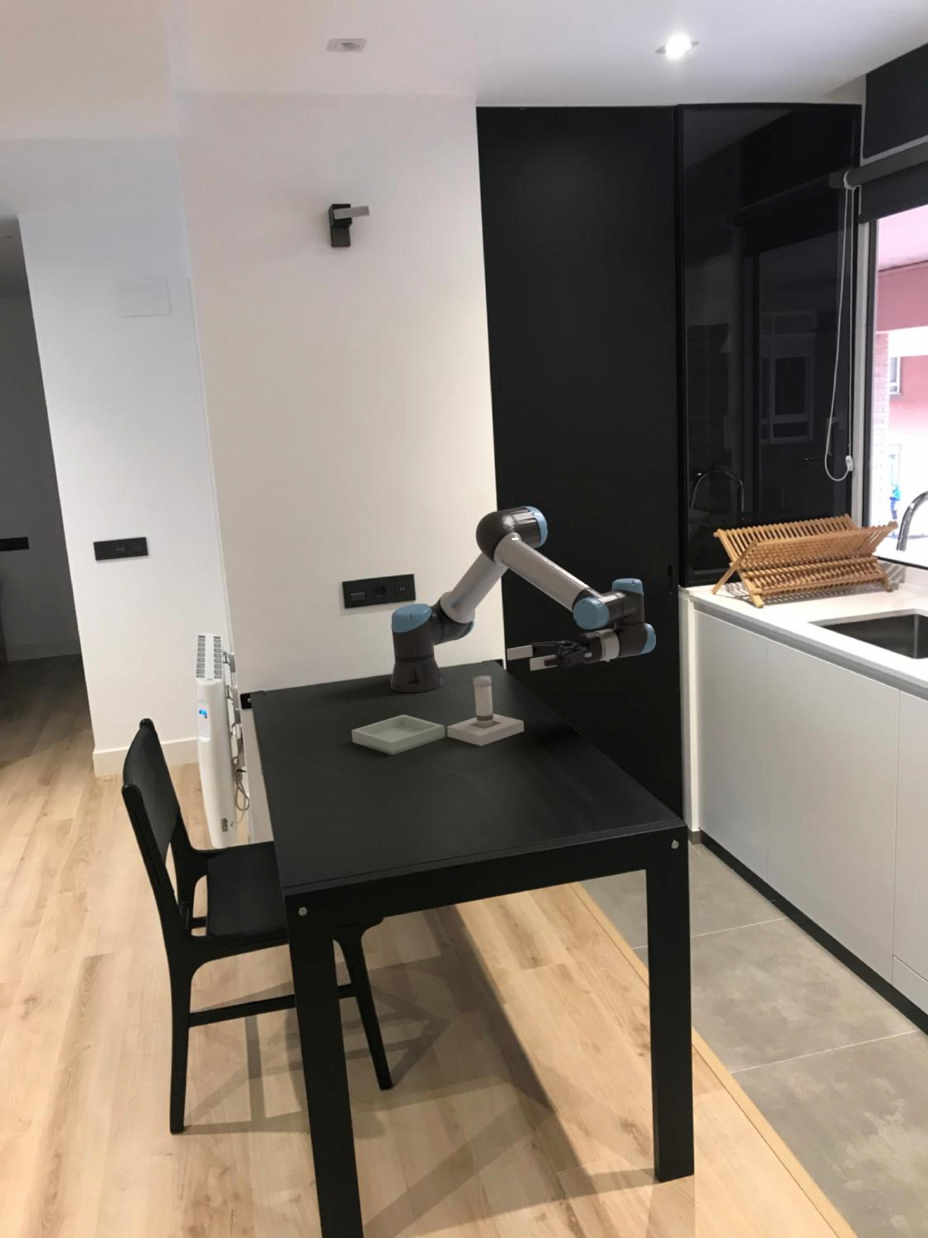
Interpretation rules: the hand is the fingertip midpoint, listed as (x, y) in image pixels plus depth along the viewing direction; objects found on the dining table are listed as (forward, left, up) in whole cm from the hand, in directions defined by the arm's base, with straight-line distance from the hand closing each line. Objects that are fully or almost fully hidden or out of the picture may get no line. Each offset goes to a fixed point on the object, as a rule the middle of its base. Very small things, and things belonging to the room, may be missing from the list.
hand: (518, 659), depth 243 cm
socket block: (+9, -4, -17) cm, 20 cm away
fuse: (+9, -4, -17) cm, 20 cm away
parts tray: (+25, -18, -17) cm, 35 cm away
